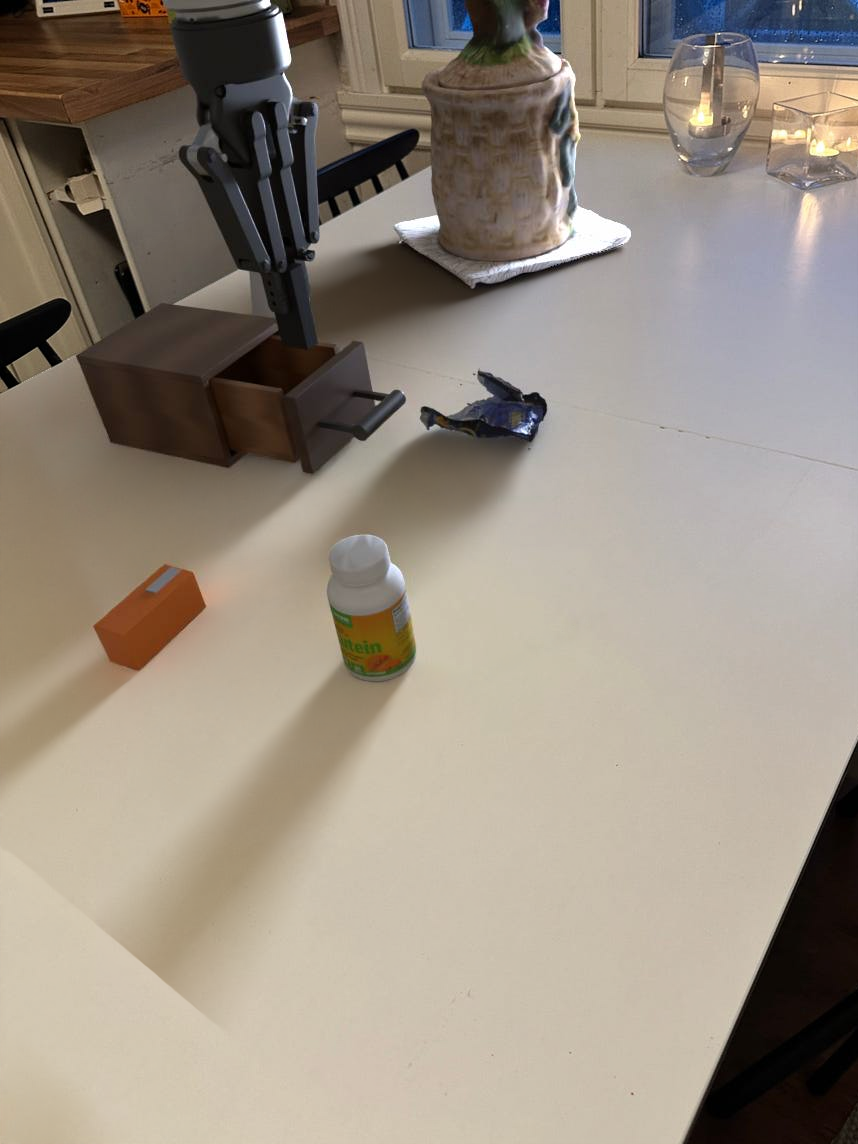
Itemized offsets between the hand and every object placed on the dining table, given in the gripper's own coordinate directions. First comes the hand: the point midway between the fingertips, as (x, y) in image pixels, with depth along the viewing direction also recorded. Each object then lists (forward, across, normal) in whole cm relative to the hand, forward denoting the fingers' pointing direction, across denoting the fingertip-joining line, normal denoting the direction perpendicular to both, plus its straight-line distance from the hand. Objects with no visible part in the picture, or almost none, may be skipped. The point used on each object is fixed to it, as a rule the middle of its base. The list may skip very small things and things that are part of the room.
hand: (300, 343), depth 79 cm
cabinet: (+14, +4, +20) cm, 24 cm away
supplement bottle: (+14, -18, -18) cm, 29 cm away
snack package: (+14, +14, -9) cm, 22 cm away
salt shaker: (+14, +23, +25) cm, 37 cm away
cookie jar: (+14, +59, +14) cm, 62 cm away
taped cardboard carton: (+14, -23, 0) cm, 27 cm away
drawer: (+13, +5, +7) cm, 15 cm away
